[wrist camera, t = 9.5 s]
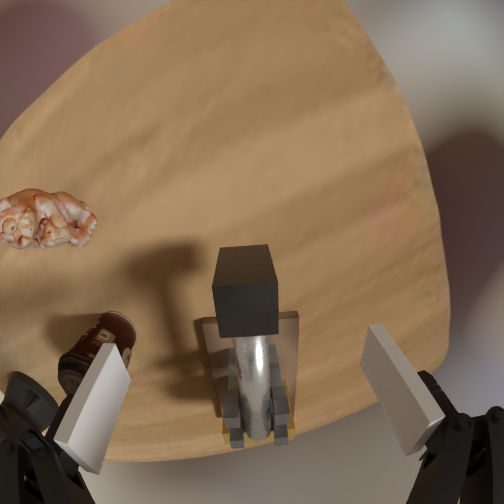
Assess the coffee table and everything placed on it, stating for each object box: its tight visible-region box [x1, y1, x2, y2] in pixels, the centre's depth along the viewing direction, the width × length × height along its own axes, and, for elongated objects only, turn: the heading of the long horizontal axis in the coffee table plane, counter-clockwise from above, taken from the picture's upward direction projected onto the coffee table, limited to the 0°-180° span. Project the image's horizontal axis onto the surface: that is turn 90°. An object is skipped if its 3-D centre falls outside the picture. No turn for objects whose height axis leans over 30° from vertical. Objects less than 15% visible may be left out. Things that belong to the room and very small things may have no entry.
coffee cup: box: [58, 311, 136, 396], centre depth 29 cm, size 9×8×13 cm
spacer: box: [222, 380, 295, 444], centre depth 33 cm, size 9×3×9 cm, turn 94°
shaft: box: [212, 244, 279, 441], centre depth 24 cm, size 4×22×7 cm, turn 3°
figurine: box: [0, 189, 97, 249], centre depth 21 cm, size 6×8×15 cm
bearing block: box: [202, 311, 299, 448], centre depth 32 cm, size 12×22×13 cm, turn 4°
